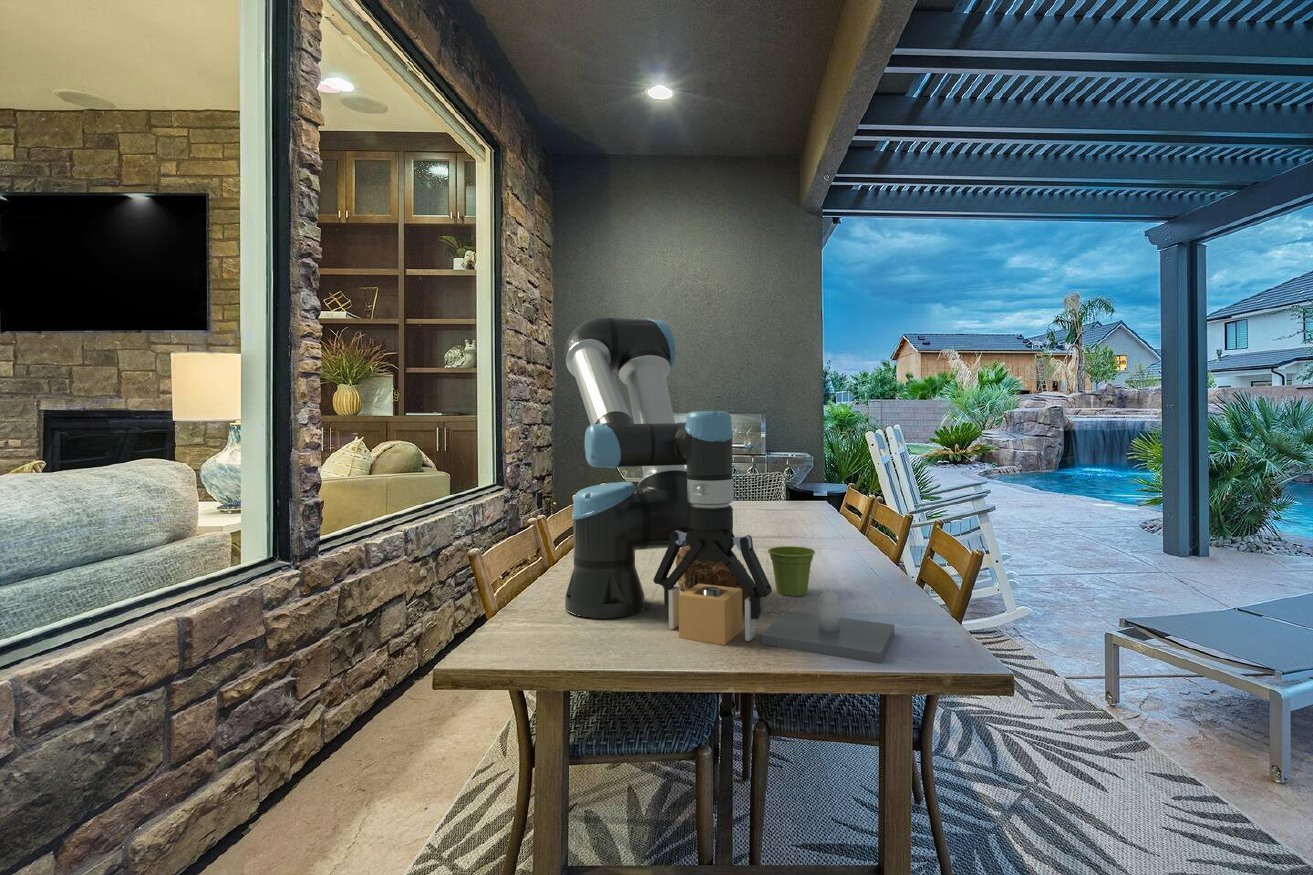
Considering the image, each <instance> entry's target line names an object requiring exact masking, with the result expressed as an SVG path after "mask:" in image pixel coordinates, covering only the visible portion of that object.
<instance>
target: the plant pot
mask: <svg viewBox="0 0 1313 875" xmlns="http://www.w3.org/2000/svg"><path fill="white" fill-rule="evenodd" d="M767 553H768V554H769V556H770V560H771V561H772V569H773V570H772V571H773V575H774V581H775V588H776V590H775V591H776V593H777V594H780V595H782V596H787V595H791V596H792V597H801V596H805V595H807V593H808V589H809V580H810V572H811V566H812V561H813V558H814V555H816V551H815V550H814V549H813V548H809V547H803V546H792V545H791V546H775V547H770V548H769V549H767Z"/></svg>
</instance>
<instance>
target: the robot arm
mask: <svg viewBox="0 0 1313 875" xmlns="http://www.w3.org/2000/svg"><path fill="white" fill-rule="evenodd" d="M564 347H565V348H564V351H563V352H564V353H563V354H564V356H563V357H564V362H565V366H566V368H567V370H568V371H569V373H570V374H571V375H572V376H573V377H574V378H575V381H576V384H577V386H578V390H579V394H580V396H581V399H582V402H583V405H584V409H585V411H586V415H587V418H588V421H589V424H590V425H589V426H588V427H587V428H586V430H585V432H584V433H585V434H584V452H585V459H586V461H587V463H588V464H589V465H590V467H592V468H607V469H617V468H632V467H633V468H635V467H641V469H642V476H643V477H642V478H641V479H640V481H639V482H638V484H637V489H636V487H635V484H634V483H633V482H630V481H619V482H607V483H602V484H597V485H592V486H587V487H584V488H583V489H580V490H578V491H577V492H576V494H575V495H574V497H573V499H572V500H573V504H572V514H571V519H572V522H573V523H572V527H573V528H572V529H573V532H572V533H573V534H572V535H573V537H572V538H573V569H572V573H571V576H570V579H569V583H568V586H567V589H566V593H565V595H564V597H565V598H564V604H565V607H564V609H565V608H566V609H565V611H566V610H568V611H570V612H572V613H574V614H576V615H580V616H584V617H583V618H585V617H593V618H592V619H615V618H623V617H627V616H631V615H634V614H637V613H639V612H641V611H642V610H644V608H645V607H646V604H645V603H646V599H645V597H646V596H645V591H644V588H643V585H642V582H641V579H640V577H639V574H638V570H637V568H636V551H638V550H639V551H640V550H653V549H654V550H655V549H666V551H665V553H664V556H662V557H663V558H662V559H661V562H660V564H659V566H658V569H657V571H656V572H655V575H654V577H653V583H654V585H660V586H662V588H663V589H664V590H663V592H664V593H663V596H664V597H663V598H664V599H663V600H664V601H663V603H664V607H666V608H668V629H675V628H677V627H679V594H681V592H680V591H681V590H680V588H679V586H677V583H678V580H679V579H680V578H681V577H682V575H683V574H684V573H685V572H686V571H687V569H688V568H689V567H690V566H691V565H692V563H693V562H694V561H695V560H696V559H697V558H698V559H699V561H707V560H708V561H711V562H719V561H721V562H722V563H723V565H724V566H726V567H727V568H728V569H729V571H730V572H731V573H732V575H733V576H734V577H735V579H736V580H737V581H738V583H739V584H740V585H741V587H742V588H743V589H744V591H745V592H746V594H747V595H748V596H749V597H748V598H747V599H745V610H744V637H745V639H744V641H747V642H750V641H752V640H753V639H754V637H756V621H757V620H758V619H759V618H760V617H761V614H762V612H761V611H762V610H761V608H762V607H761V599H762V598H767V597H768V596H769V595H771V594H772V593H773V589H772V586H771V584H770V582H769V579H768V577H767V576H766V573H765V571H764V569H763V567H762V564H761V563H760V560H759V557H758V556H757V554H756V552H755V550H754V544H753V537H752V536H751V535H750V534H746V535H745V536H735V535H734V531H733V530H734V508H733V506H732V505H730V504H731V503H733V501H734V493H733V492H734V491H733V485H734V484H733V437H734V431H733V425H732V416H731V414H730V413H729V412H728V411H725V410H715V411H714V410H711V411H710V410H709V411H708V410H705V411H703V410H701V411H690V412H688V413H687V415H686V421H684V422H676V421H675V416H674V411H673V407H672V403H671V402H672V401H671V397H670V393H669V388H668V387H669V386H668V383H667V379H666V378H667V377H668V375H669V374H670V372H671V369H672V368H673V367H674V364H675V361H676V354H677V353H676V352H677V351H676V348H675V347H676V341H675V336H674V333H673V331H672V329H671V327H670V326H669V324H668V323H667V322H665V321H663V320H660V319H652V318H641V319H639V318H621V317H619V318H618V317H602V316H601V317H600V316H599V317H595V318H591V319H589V320H587V321H585V322H583V323H581V324H579V325H578V326H577V327H576V328H575V329H574V330H573V331H572V332H571V334H570V335H569V337H568V338H567V340H566V343H565V346H564ZM613 371H617V373H618V378H619V380H620V381H621V382H622V384H624V385H626V386H627V390H628V396H629V402H630V408H631V413H632V416H631V413H630V411H629V409H628V406H627V404H626V402H625V398H624V396H623V394H622V392H621V388H620V387H619V384H618V382H617V380H616V377H615V375H614V373H613ZM632 418H633V419H632ZM685 467H686V468H685ZM684 546H689V547H690V548H691V549H690V550H689V552H688V553H687V554H686V555H685V557H684V559H683V560H682V561H681V562H680V564H679V565H678V566H677V567H676V566H675V568H674V570H673V571H672V572H671V573H670V571H671V568H672V567H673V564H674V563H675V561H676V559H677V558H676V557H677V554H678V552H679V550H680V549H681V548H683V547H684ZM734 546H736V547H737V549H738V550H739V551H740V552H741V556H742V557H743V560H744V563H745V564H746V566H747V568H748V571H749V573H750V574H749V573H748V571H747V570H746V571H747V572H746V571H745V569H744V568H743V567H742V565H741V564H742V563H741V564H740V563H739V561H738V560H739V559H738V556H737V555H736V554H735V552H733V550H732V549H733V548H734ZM737 559H738V560H737ZM669 573H670V574H669ZM668 575H669V576H668ZM750 575H751V576H750Z"/></svg>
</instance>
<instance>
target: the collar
mask: <svg viewBox="0 0 1313 875" xmlns="http://www.w3.org/2000/svg"><path fill="white" fill-rule="evenodd" d="M704 587H718V588H719V597H714V596H707V595H702V588H704ZM742 631H743V611H742V589H740V588H732V587H724V586H715V585H707V584H697V585H695V586H693V587H692V588H690V589H688V590H686V591H685V592H683V591H682V592H680V594H679V625H678V638H680V639H684V640H685V639H686V640H692V641H697V642H704V643H710V644H716V645H723V646H725V645H727V644H728V643H729V642H730V641H731V640H733V638H735V637H736V636H737V635H738V634H739V633H741V632H742Z"/></svg>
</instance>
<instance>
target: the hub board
mask: <svg viewBox="0 0 1313 875" xmlns="http://www.w3.org/2000/svg"><path fill="white" fill-rule="evenodd" d="M894 635H895V624H891V623H884V622H876V621H869V620H862V619H854V618H846V617H841V616H840V599H839V597H838V595H837V594H836V593H835V592H832V591H824V592H822V593H821V594H820V596H819V597H818V614H816V613H810V612H804V611H803V612H801V611H794V610H786V611H785V612H784V613H782V614H781V615H780V616H779V617H778V618H777V619H776V620H775V621H774V622H772V624H770V626H769V627H768V628H766V629H765V630H764V631H763V632H762V633H761V635H760V636H761V639H760V640H761V641H760V642H761V645H766V646H771V647H779V648H785V649H790V650H796V651H797V650H798V651H801V652H803V651H804V652H808V653H810V652H811V653H815V654H816V653H817V654H821V655H828V656H834V657H840V658H844V659H845V658H846V659H853V660H859V661H865V662H871V663H876V664H881V663H882V661H883V659H884V657H885V655H886V652H887V650H888V649H889V646H890V645H891V644H890V643H891V642H892V639H893V637H894Z"/></svg>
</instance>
